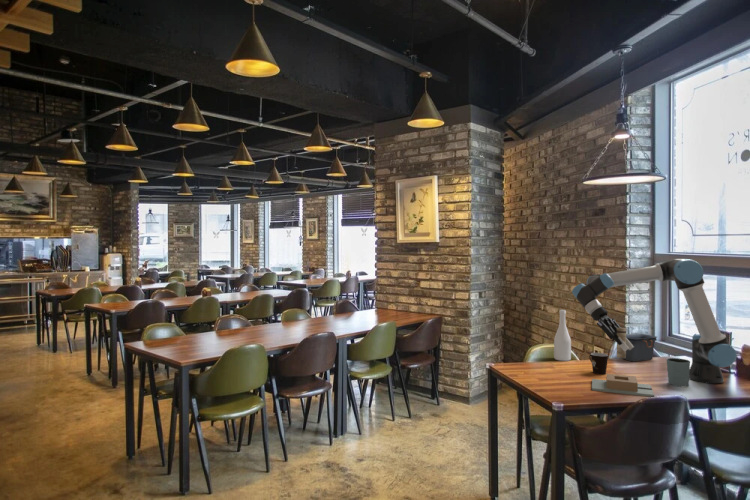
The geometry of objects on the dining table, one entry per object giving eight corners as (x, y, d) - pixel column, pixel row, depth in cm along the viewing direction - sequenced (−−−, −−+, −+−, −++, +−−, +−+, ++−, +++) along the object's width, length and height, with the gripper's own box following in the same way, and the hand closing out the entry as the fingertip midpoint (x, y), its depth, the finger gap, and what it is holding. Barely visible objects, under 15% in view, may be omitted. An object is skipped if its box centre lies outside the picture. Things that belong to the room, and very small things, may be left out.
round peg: (625, 356, 240) (625, 327, 240) (626, 358, 236) (626, 329, 236) (616, 355, 242) (616, 327, 242) (616, 357, 238) (616, 328, 238)
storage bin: (640, 355, 310) (640, 332, 310) (663, 360, 296) (663, 337, 295) (614, 358, 302) (615, 335, 302) (636, 364, 288) (636, 339, 288)
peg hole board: (650, 386, 242) (650, 376, 242) (654, 397, 226) (654, 386, 225) (592, 380, 253) (592, 371, 253) (591, 390, 236) (591, 379, 236)
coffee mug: (610, 375, 263) (610, 356, 263) (592, 374, 265) (592, 355, 265) (604, 369, 274) (604, 351, 274) (587, 369, 276) (587, 351, 276)
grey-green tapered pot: (678, 387, 240) (678, 363, 240) (661, 382, 250) (661, 358, 250) (695, 386, 243) (695, 361, 243) (677, 380, 253) (677, 357, 253)
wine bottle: (571, 361, 294) (571, 311, 293) (554, 360, 297) (554, 310, 296) (570, 358, 303) (570, 309, 302) (553, 357, 306) (554, 308, 305)
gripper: (600, 314, 256) (632, 351, 243) (582, 316, 246) (614, 356, 233) (610, 304, 252) (643, 342, 239) (592, 307, 242) (625, 346, 229)
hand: (629, 349), depth 236 cm, fingers closed on round peg, 4 cm apart
